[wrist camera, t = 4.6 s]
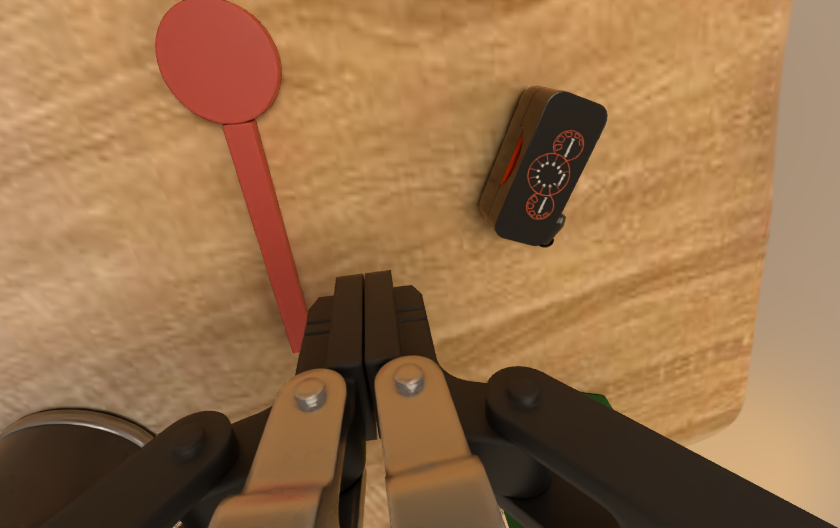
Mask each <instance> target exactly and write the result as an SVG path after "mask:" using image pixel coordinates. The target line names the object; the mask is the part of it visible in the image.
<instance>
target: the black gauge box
mask: <svg viewBox="0 0 840 528" xmlns="http://www.w3.org/2000/svg"><path fill="white" fill-rule="evenodd" d="M607 116H608V115H607V111H606V109H605V108H604V106H602V105H600V104H598V103H595V102H593V101H590V100H588V99H585V98H582V97H580V96H577V95H574V94H572V93H569V92H565V91H560V90H555V89H550V88H545V87H541V86H533V87H530V88H528V89H527V90H525V91H524V93H523V94H522V96H521V98H520V101H519V104H518V106H517V109H516V111H515V114H514V116H513V119H512V121H511V124H510V126H509V129H508V131H507V134H506V136H505V139H504V141H503V144H502V146H501V149H500V151H499V154H498V156H497V159H496V161H495V164H494V166H493V169H492V171H491V174H490V176H489V179H488V182H487V184H486V187H485V189H484V192H483V194H482V197H481V199H480V202H479V209H480V211H481V213H482V215H483V216H484V217H485V219H486V220H487V221H488V223H489V224H490V225H491V227H492V228H493V229H494V231H495V232H496V233H497V235H498V236H500V237H502V238H505V239H509V240H513V241H517V242H521V243H525V244H528V245H533V246H538V245H539V246H540V247H543V248H547V247H550V246H551V245H552V244H553V242H554V239H553V238H554V237H555V235H556V234H557V233H558V232H559V231H560V230H561V229H562V228H563V226H564V223H565V219H566V216H565V215H564V214H563V213H562V212H563V209H564V207H565V205H566V203H567V201H568V199H569V197H570V195H571V193H572V191H573V189H574V187H575V185H576V183H577V181H578V179H579V177H580V175H581V173H582V171H583V169H584V167H585V165H586V163H587V161H588V159H589V157H590V155H591V153H592V151H593V149H594V147H595V145H596V143H597V141H598V139H599V137H600V135H601V133H602V131H603V129H604V127H605V125H606V122H607Z"/></svg>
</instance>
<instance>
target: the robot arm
mask: <svg viewBox="0 0 840 528" xmlns="http://www.w3.org/2000/svg"><path fill="white" fill-rule="evenodd" d="M376 422H377V427H378V432H379V437H380V439H381V440H382V447H383V455H384V463H385V471H386V476H385V482H386V491H387V499H388V507H389V515H390V523H391V528H506V526H505V524H504V521H503V518H502V515H501V512H500V510H499V507H500V508H502V509H503V510H504V511H505V512H506V513H508V514H509V515H510V516H511V517H512V518H514V519H515V520H516V521H517V522H518V523H520V524H521V525H522V526H523V527H525V528H837V527H835V526H833V525H832V524H830V523H828V522H826V521H824V520H822V519H820V518H818V517H816V516H814V515H813V514H810V513H809V512H807V511H805V510H803V509H801V508H799V507H797V506H796V505H793V504H792V503H790V502H788V501H786V500H784V499H782V498H780V497H778V496H777V495H775V494H773V493H771V492H769V491H767V490H765V489H763V488H761V487H759V486H757V485H756V484H754V483H752V482H750V481H748V480H746V479H744V478H742V477H740V476H739V475H737V474H735V473H733V472H731V471H729V470H727V469H725V468H723V467H721V466H720V465H718V464H716V463H714V462H712V461H710V460H708V459H706V458H704V457H702V456H701V455H699V454H697V453H695V452H693V451H691V450H689V449H687V448H685V447H683V446H682V445H680V444H678V443H676V442H674V441H672V440H670V439H668V438H666V437H664V436H663V435H661V434H659V433H657V432H655V431H653V430H651V429H649V428H647V427H645V426H644V425H642V424H640V423H638V422H636V421H634V420H632V419H630V418H628V417H626V416H625V415H623V414H621V413H619V412H617V411H615V410H613V409H611V408H609V407H607V406H606V405H604V404H602V403H600V402H598V401H596V400H594V399H592V398H590V397H588V396H587V395H585V394H583V393H581V392H579V391H577V390H575V389H573V388H571V387H569V386H568V385H566V384H564V383H562V382H560V381H558V380H556V379H554V378H552V377H550V376H549V375H547V374H545V373H543V372H541V371H538V370H536V369H533V368H529V367H521V366H515V367H508V368H504V369H501V370H500V371H498V372H496V373H495V374H493V375H492V376H491V378H490V379H489V380H488V382H487V383H481V382H473V381H466V380H462V379H459V378H456V377H454V376H452V375H450V374H448V373H447V372H446V371H445V370H443V369H442V367H441V366H440V365H439V363H438V361H437V358H436V354H435V350H434V345H433V341H432V337H431V332H430V328H429V323H428V319H427V315H426V310H425V306H424V302H423V297H422V294H421V293H420V292H419V291H418V290H417V289H416V288H415V287H413V286H412V285H409V286H401V287H393V282H392V274H391V270H387V271H379V272H371V273H365V279H364V275H363V274H357V275H349V276H341V277H337V278H336V283H335V291H334V295H333V296H326V297H319V298H318V299H317V301H316V302H315V303H314V304H313V305H312V307H311V308H310V309H309V312H308V316H307V321H306V326H305V330H304V336H303V340H302V345H301V349H300V354H299V359H298V363H297V368H296V373H295V376H294V377H293V378H291V379H290V380H288V381H287V382H286V383H285V384H284V385H283V386H282V387H281V388H280V390H279V391H278V393H277V395H276V398H275V400H274V403H273V406H271V407H269V408H268V409H266V410H264V411H262V412H260V413H258V414H255V415H253V416H250V417H248V418H245V419H243V420H240V421H238V422H235V423H233V424H231V423H230V421H229V419H228V418H227V417H226V416H225V415H224V414H222V413H220V412H216V411H202V412H198V413H194V414H191V415H188V416H186V417H184V418H182V419H180V420H178V421H176V422H175V423H173V424H172V425H170V426H169V427H168V428H166V429H165V430H164V431H162V432H161V433H160V434H158V435H157V436H156V437H155V438H154V437H153V436H152V435H151V434H149V433H148V432H146V431H145V430H143V429H142V428H140V427H138V426H136V425H135V424H132V423H130V422H128V421H126V420H123V419H120V418H118V417H114V416H111V415H107V414H103V413H98V412H93V411H85V410H52V411H45V412H40V413H36V414H32V415H29V416H27V417H24V418H22V419H20V420H18V421H16V422H14V423H13V424H11V425H10V426H9V427H7V428H6V429H5V430H4V431H3V432H2V434H1V435H0V528H172V527H173V526H174V525H175V524H176V523H177V522H178V521H179V520H180V521H181V522H182V525H181V526H180V527H179V528H363V515H364V502H365V489H366V468H365V462H366V441H369V440H375V439H377V427H376ZM498 506H499V507H498Z"/></svg>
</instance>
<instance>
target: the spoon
mask: <svg viewBox="0 0 840 528" xmlns="http://www.w3.org/2000/svg"><path fill="white" fill-rule="evenodd" d="M155 48H156V58H157V63H158V66H159V69H160V72H161V74H162V77H163V79H164V81H165V82H166V84H167V86H168V87H169V89H170V90H171V92H172V93H173V94H174V95H175V97H176V98H177V99H178V100H179V101H180V102H181V103H182V104H183V105H184V106H185V107H187V108H188V109H189V110H191V111H192V112H194V113H195V114H197V115H199V116H201V117H203V118H205V119H207V120H210V121H213V122H217V123H222V124H224V125H222V127H223V130H224V133H225V137H226V140H227V143H228V146H229V149H230V153H231V156H232V159H233V162H234V166H235V169H236V172H237V175H238V178H239V182H240V185H241V188H242V191H243V194H244V198H245V201H246V204H247V207H248V210H249V214H250V217H251V220H252V223H253V227H254V230H255V233H256V236H257V239H258V243H259V246H260V249H261V252H262V255H263V259H264V262H265V265H266V268H267V271H268V275H269V278H270V281H271V284H272V288H273V291H274V294H275V297H276V300H277V304H278V307H279V310H280V313H281V316H282V320H283V323H284V326H285V329H286V332H287V336H288V339H289V342H290V345H291V349H292V352H293V353H299V352H300V349H301V345H302V340H303V336H304V330H305V326H306V321H307V316H308V312H307V309H306V305H305V301H304V298H303V294H302V290H301V286H300V283H299V279H298V275H297V272H296V268H295V264H294V261H293V257H292V253H291V249H290V246H289V242H288V238H287V235H286V231H285V227H284V224H283V220H282V216H281V212H280V209H279V205H278V201H277V198H276V194H275V190H274V187H273V183H272V179H271V175H270V172H269V168H268V164H267V161H266V157H265V153H264V150H263V146H262V142H261V139H260V135H259V131H258V127H257V124H256V120H252V119H254V118H256V117H257V116H259V115H260V114H262V113H263V112H264V111H266V110H267V109H268V108H269V107H270V106H271V104H272V103H273V102H274V100H275V98H276V96H277V94H278V91H279V89H280V84H281V75H282V72H281V62H280V57H279V54H278V50H277V48H276V45H275V43H274V41H273V39H272V38H271V36H270V34H269V33H268V31H267V30H266V28H265V27H264V26H263V25H262V24H261V23H260V21H259V20H257V19H256V18H255V17H254V16H253V15H252V14H251V13H249V12H248V11H247V10H245V9H243V8H242V7H240V6H238V5H236V4H233V3H231V2H228V1H226V0H183V1H181V2H179V3H177V4H176V5H174V6H173V7H172V8H171V9H170V10H169V11H168V12H167V13H166V14H165V16H164V17H163V19H162V20H161V22H160V25H159V27H158V31H157V35H156V43H155Z"/></svg>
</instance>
